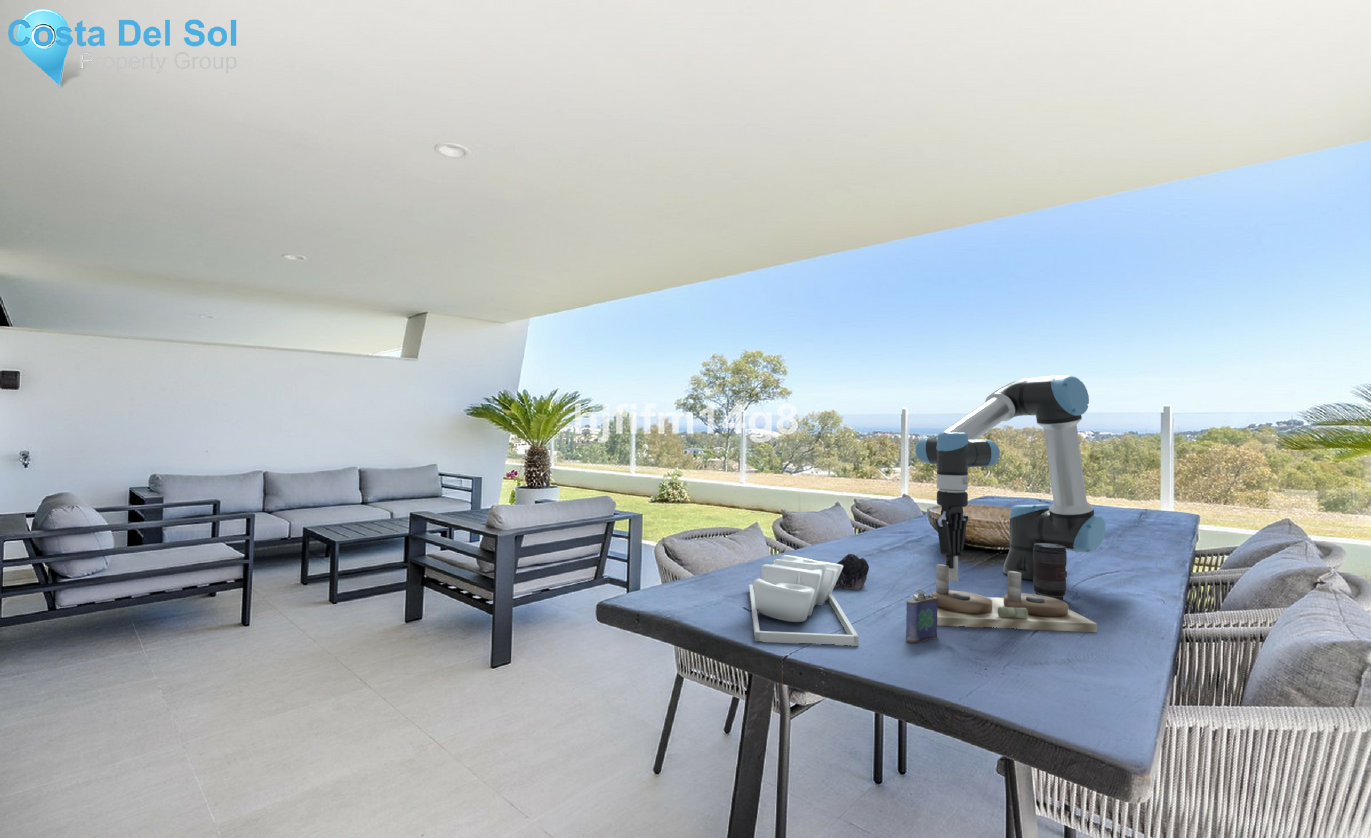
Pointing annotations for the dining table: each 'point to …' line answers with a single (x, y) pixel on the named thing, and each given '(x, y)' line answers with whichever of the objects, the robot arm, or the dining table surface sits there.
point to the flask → (921, 618)
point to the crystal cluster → (852, 572)
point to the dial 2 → (1032, 599)
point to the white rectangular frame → (806, 637)
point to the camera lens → (1049, 570)
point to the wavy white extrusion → (794, 587)
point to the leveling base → (1014, 619)
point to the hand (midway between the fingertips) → (951, 580)
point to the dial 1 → (958, 595)
